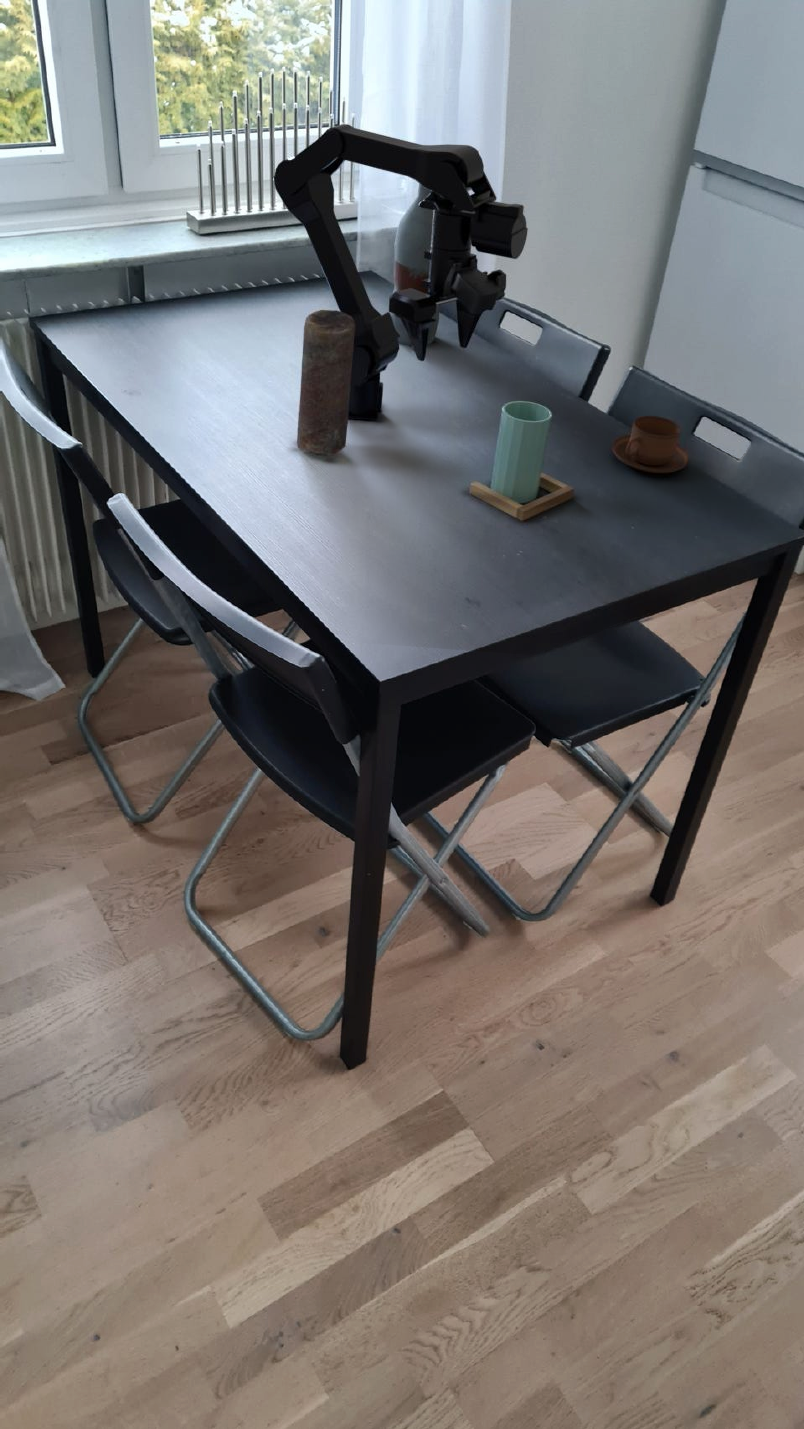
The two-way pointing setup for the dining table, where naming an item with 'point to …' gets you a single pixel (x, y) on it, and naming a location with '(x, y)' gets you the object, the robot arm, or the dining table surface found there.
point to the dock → (522, 512)
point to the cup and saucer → (652, 446)
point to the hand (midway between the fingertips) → (442, 354)
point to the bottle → (413, 258)
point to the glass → (520, 450)
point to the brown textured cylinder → (325, 382)
